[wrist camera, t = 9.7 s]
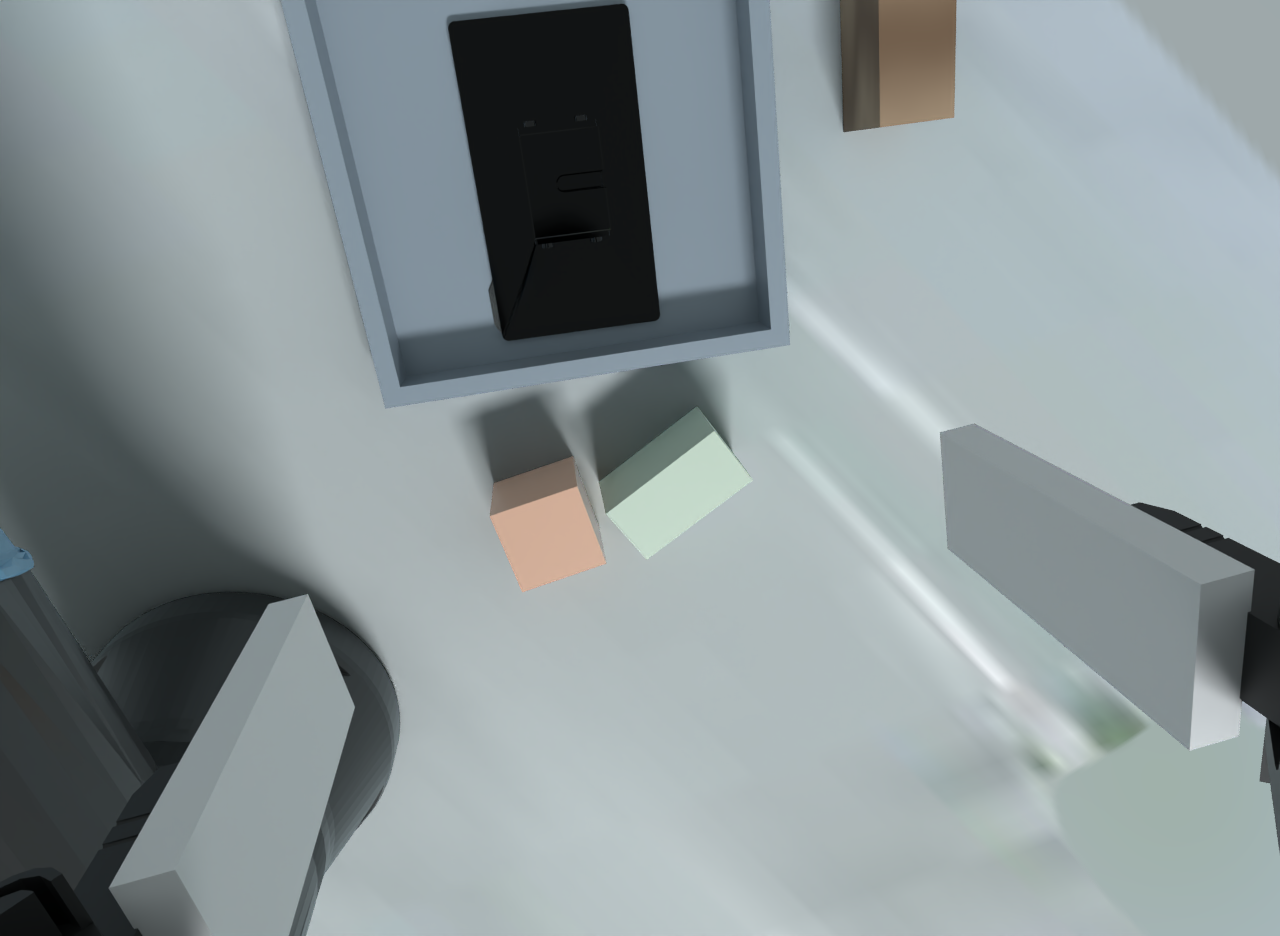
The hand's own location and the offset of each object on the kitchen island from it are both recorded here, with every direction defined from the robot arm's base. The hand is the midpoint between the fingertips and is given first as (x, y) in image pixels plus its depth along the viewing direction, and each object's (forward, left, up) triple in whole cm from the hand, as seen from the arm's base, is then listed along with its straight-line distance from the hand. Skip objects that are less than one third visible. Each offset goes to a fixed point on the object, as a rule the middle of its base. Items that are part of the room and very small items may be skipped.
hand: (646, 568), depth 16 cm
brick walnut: (+14, +11, -22) cm, 28 cm away
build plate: (0, +7, -21) cm, 22 cm away
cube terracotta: (-3, -7, -22) cm, 23 cm away
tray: (0, +9, -22) cm, 23 cm away
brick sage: (+3, -6, -22) cm, 23 cm away
